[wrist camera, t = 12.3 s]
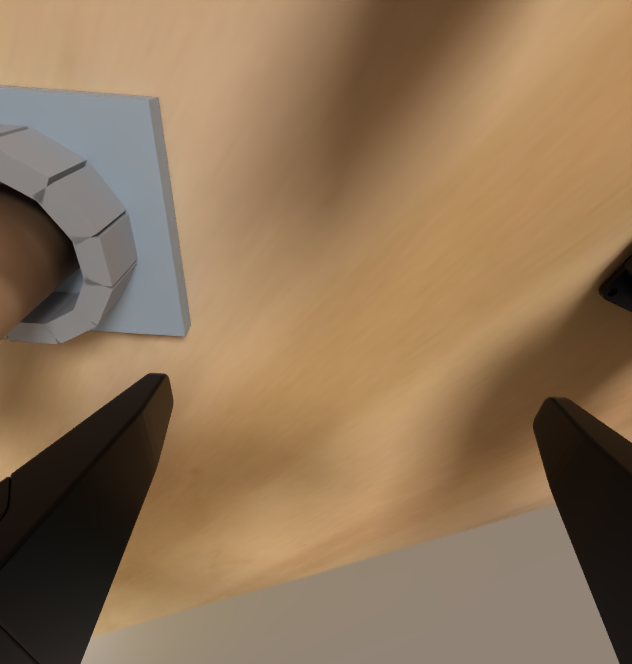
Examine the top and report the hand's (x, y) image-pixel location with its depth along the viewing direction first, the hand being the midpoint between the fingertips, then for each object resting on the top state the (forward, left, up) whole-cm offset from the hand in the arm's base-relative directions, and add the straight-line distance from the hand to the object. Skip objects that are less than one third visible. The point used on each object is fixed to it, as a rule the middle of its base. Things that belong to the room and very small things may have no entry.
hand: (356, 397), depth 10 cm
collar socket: (+13, +6, -13) cm, 20 cm away
